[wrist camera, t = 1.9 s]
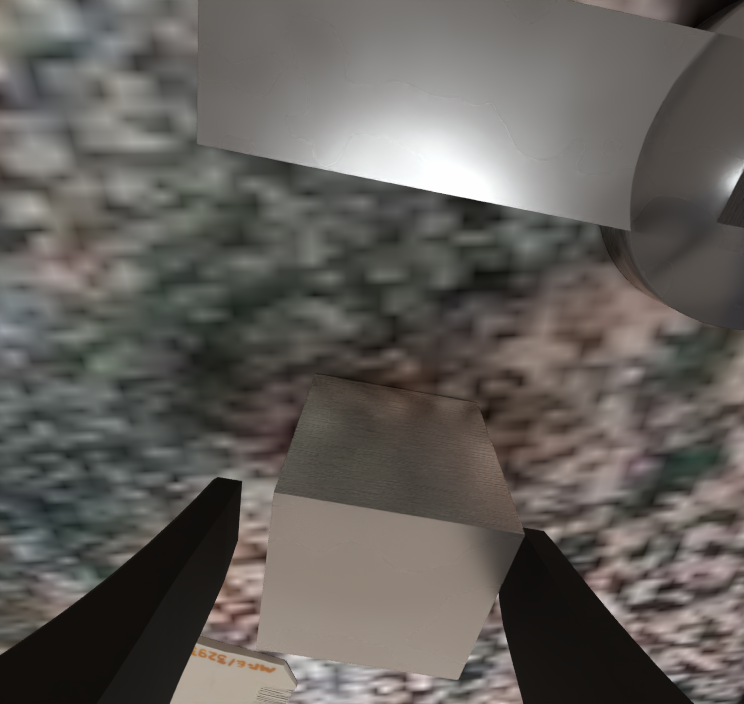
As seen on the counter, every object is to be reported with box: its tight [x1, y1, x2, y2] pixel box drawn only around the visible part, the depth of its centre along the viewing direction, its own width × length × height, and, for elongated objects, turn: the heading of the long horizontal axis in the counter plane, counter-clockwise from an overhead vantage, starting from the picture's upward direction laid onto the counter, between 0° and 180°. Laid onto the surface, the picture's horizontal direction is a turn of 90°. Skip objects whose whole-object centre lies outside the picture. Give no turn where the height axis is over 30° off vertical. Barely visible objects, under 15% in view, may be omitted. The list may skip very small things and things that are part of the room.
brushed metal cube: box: [256, 374, 525, 680], centre depth 12 cm, size 5×5×5 cm
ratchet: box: [197, 0, 744, 330], centre depth 8 cm, size 16×7×4 cm, turn 80°
